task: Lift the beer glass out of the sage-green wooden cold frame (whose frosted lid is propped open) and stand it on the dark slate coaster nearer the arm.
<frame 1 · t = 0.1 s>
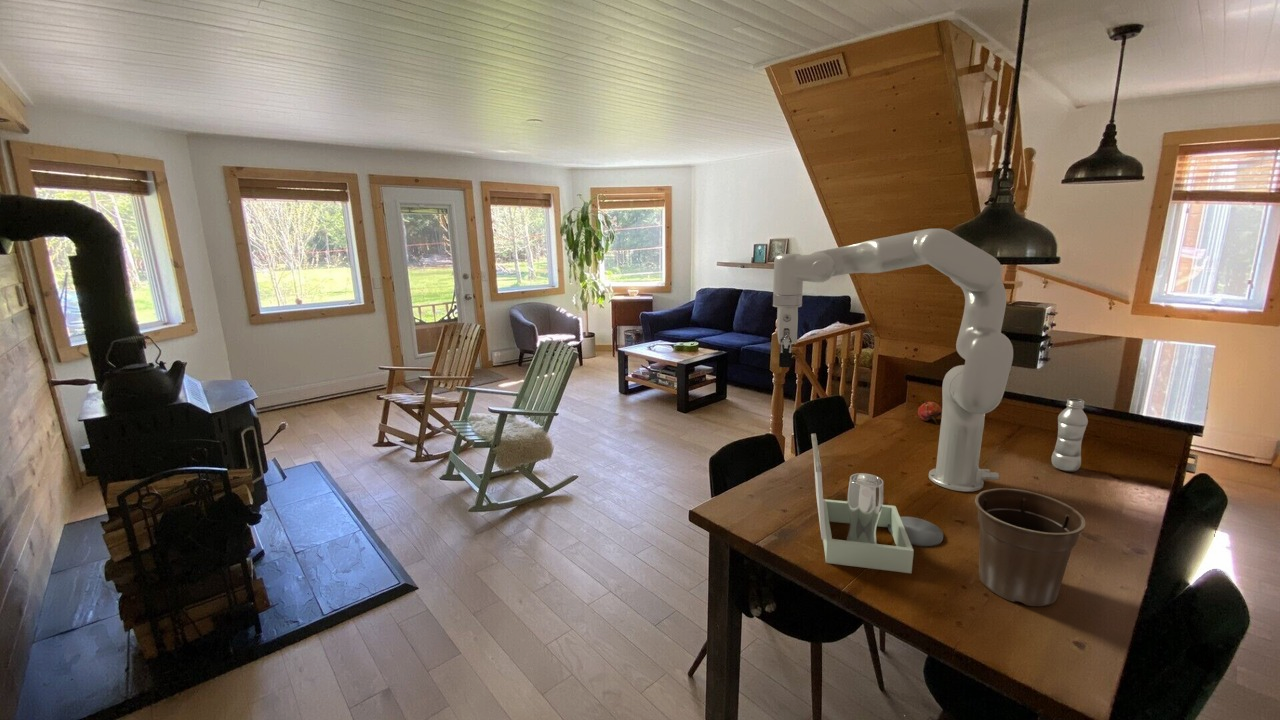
hand: (785, 362, 146), 31 cm above the table, tool pointing down, fingers open, 9 cm apart
pomegranate: (929, 421, 187), on the table
coaster: (914, 532, 119), on the table
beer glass: (861, 544, 115), resting in cold frame
plant pot: (1015, 587, 100), on the table
plastic bottle: (1064, 469, 147), on the table
cold frame: (861, 543, 115), on the table
lid: (818, 483, 115), point 13 cm above the table, hinge at 96.0°
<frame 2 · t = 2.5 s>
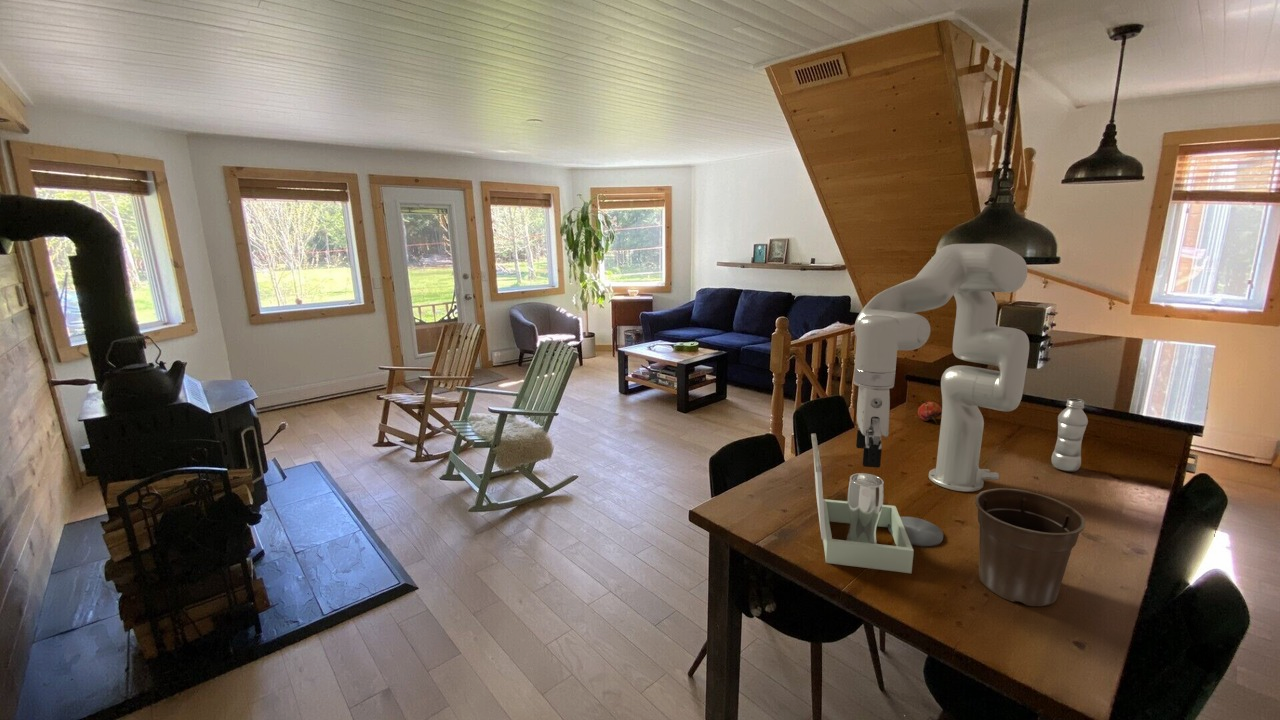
hand: (867, 456, 110), 20 cm above the table, tool pointing down, fingers open, 9 cm apart
nothing on the table moved.
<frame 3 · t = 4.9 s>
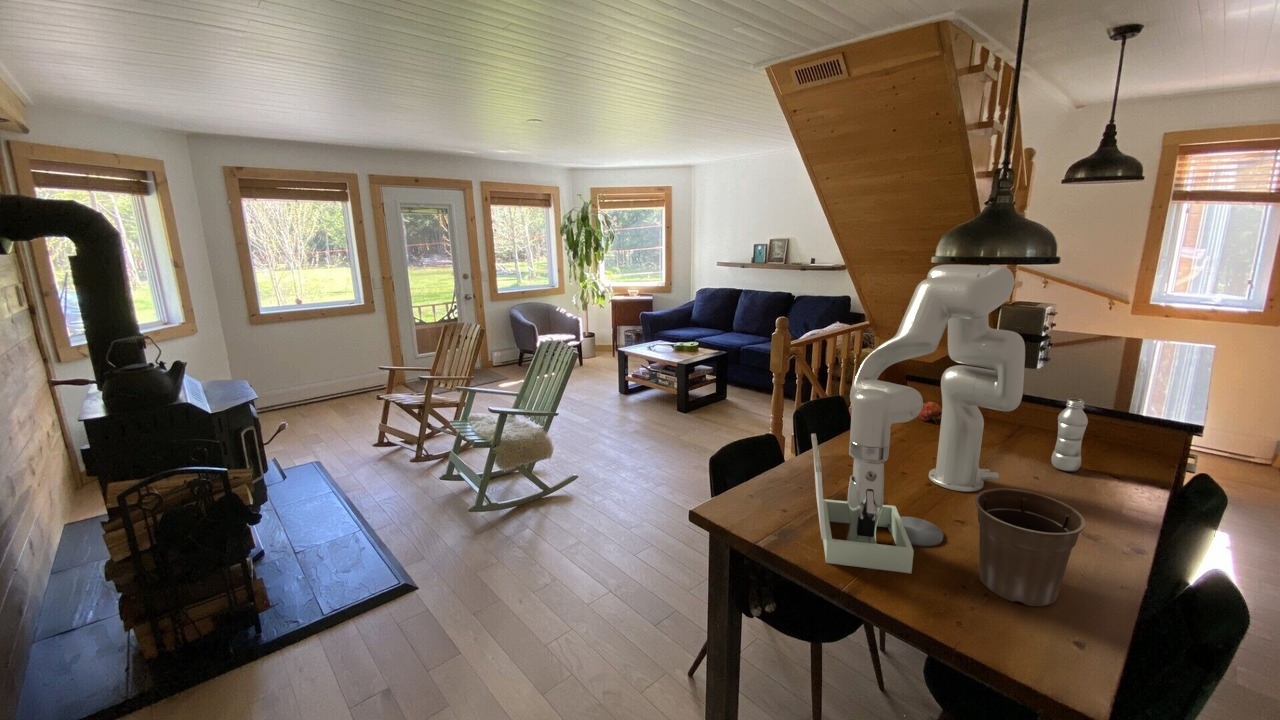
hand: (862, 526, 114), 4 cm above the table, tool pointing down, fingers closed on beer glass, 6 cm apart
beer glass: (861, 544, 115), resting in cold frame, touching gripper
everything else where it was.
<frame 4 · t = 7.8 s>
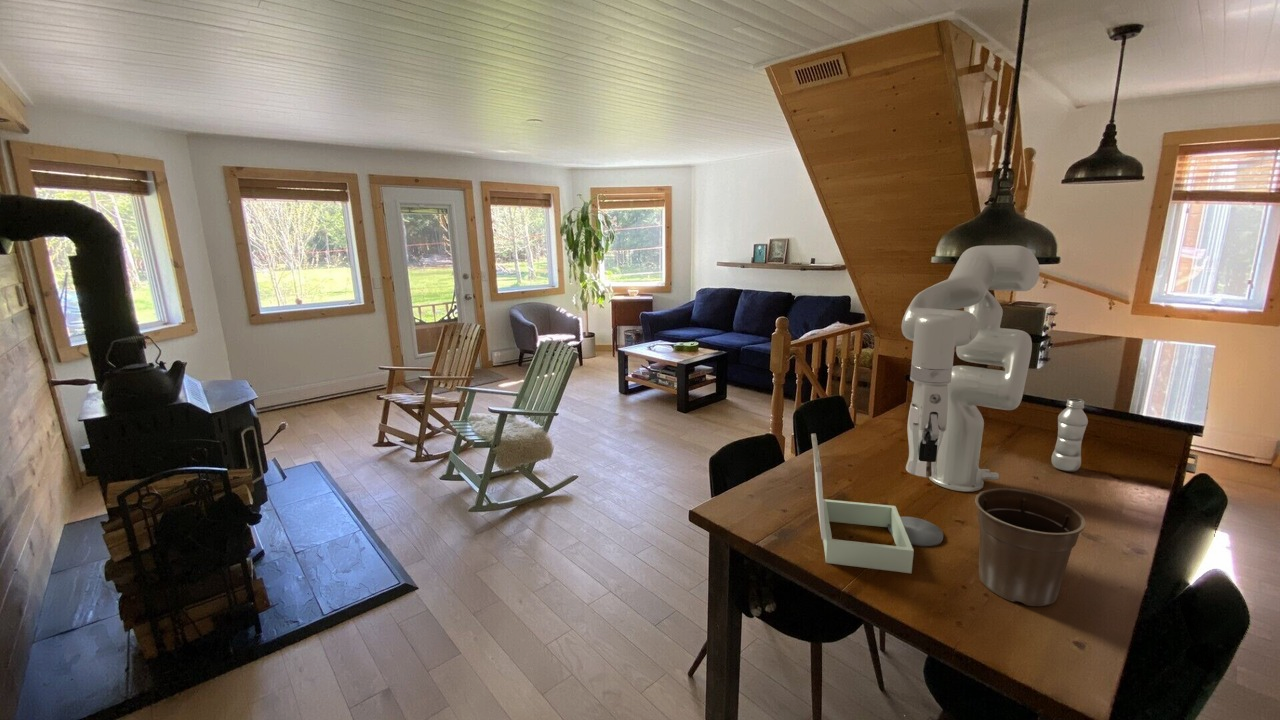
hand: (922, 453, 114), 19 cm above the table, tool pointing down, fingers closed on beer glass, 6 cm apart
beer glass: (920, 472, 115), point 15 cm above the table, touching gripper
everything else where it was.
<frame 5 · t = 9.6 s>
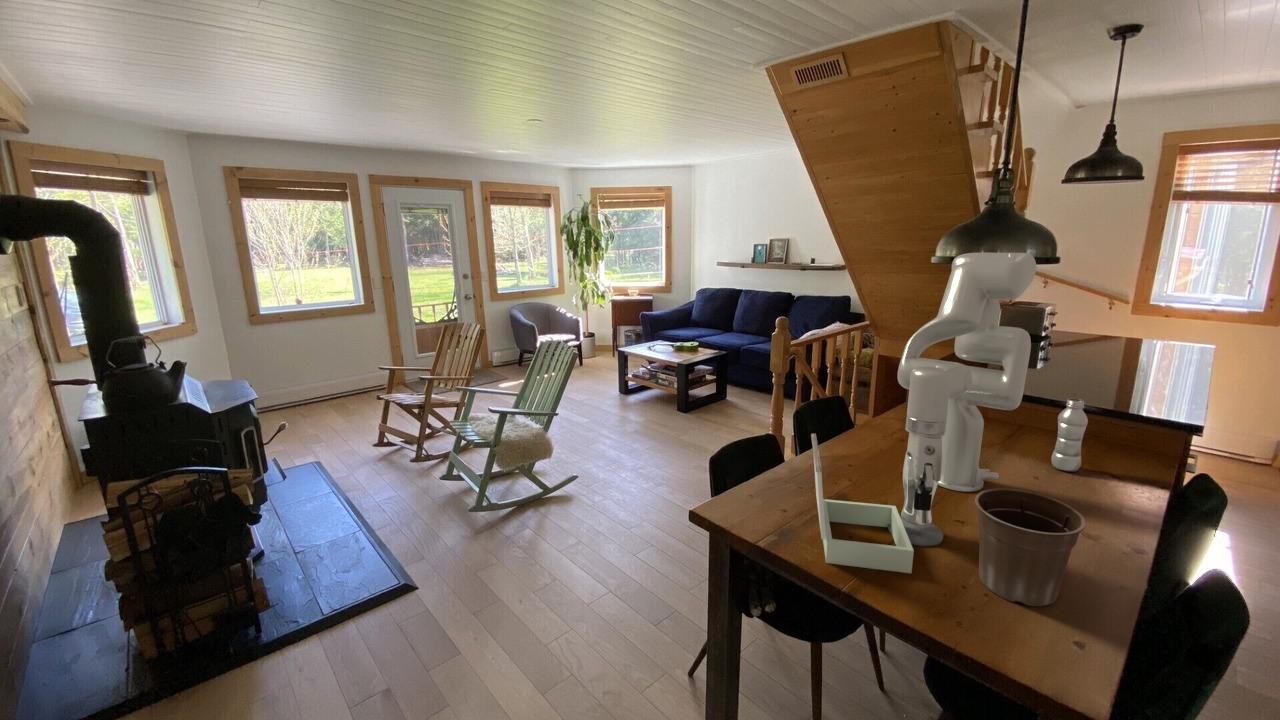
hand: (917, 501, 117), 8 cm above the table, tool pointing down, fingers closed on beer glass, 6 cm apart
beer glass: (916, 518, 118), point 3 cm above the table, touching gripper
everything else where it was.
when the fingers open (6 cm above the table, at t = 11.0 s): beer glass stays where it is, resting on coaster.
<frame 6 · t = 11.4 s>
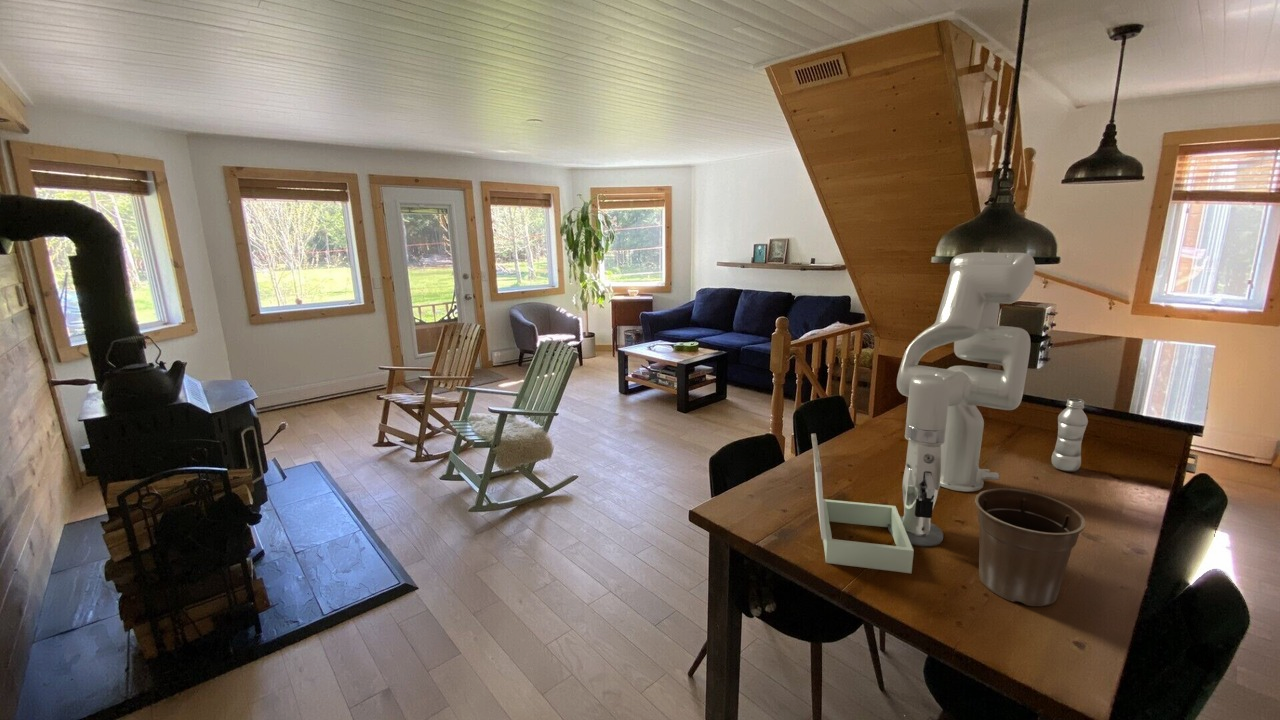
hand: (917, 505, 117), 7 cm above the table, tool pointing down, fingers open, 9 cm apart
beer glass: (915, 530, 118), point 1 cm above the table, touching coaster
everything else where it was.
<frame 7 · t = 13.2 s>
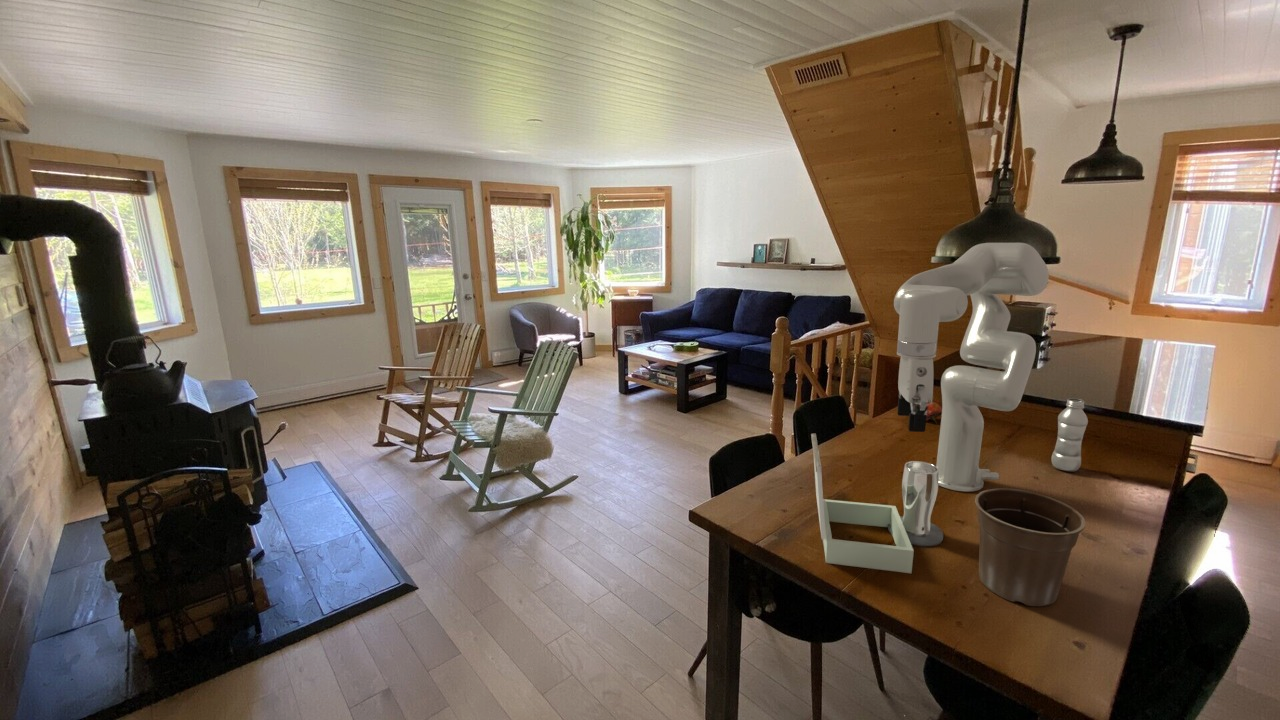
hand: (910, 422, 118), 24 cm above the table, tool pointing down, fingers open, 9 cm apart
nothing on the table moved.
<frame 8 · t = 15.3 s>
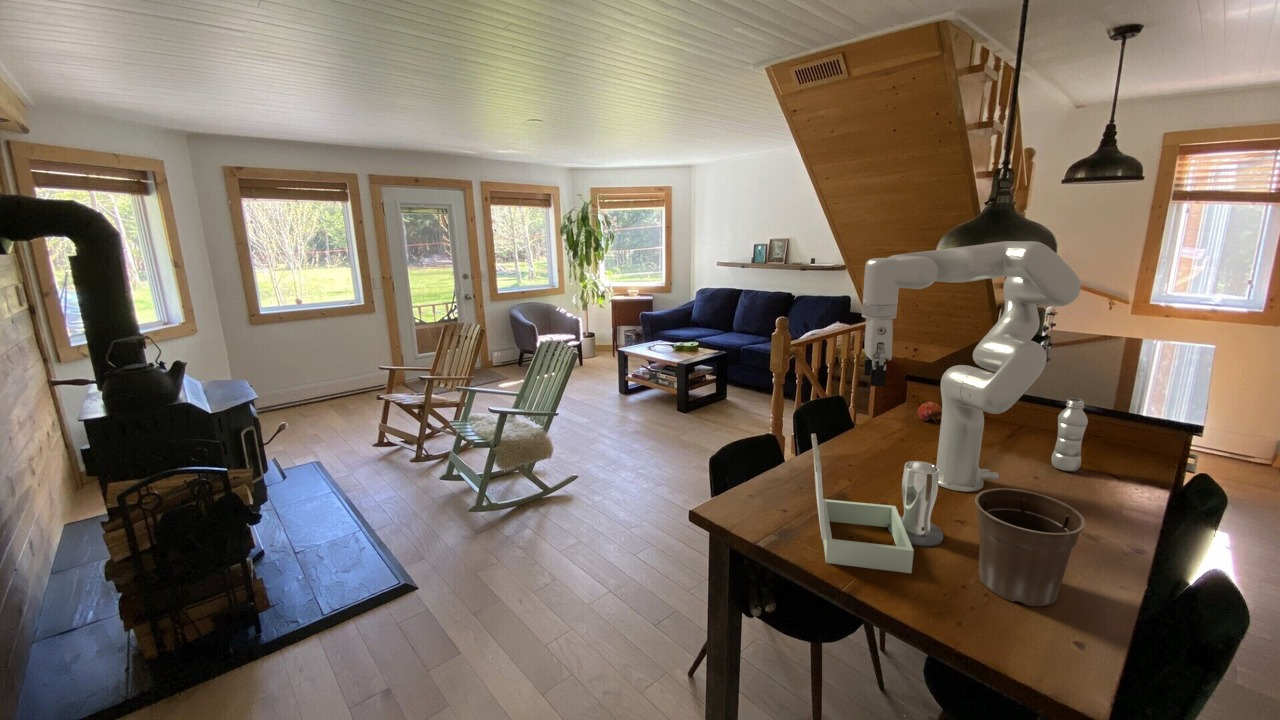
hand: (873, 380, 130), 30 cm above the table, tool pointing down, fingers open, 9 cm apart
nothing on the table moved.
at the end: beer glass 0.1 cm from the coaster (horizontally); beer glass tilted 0°; the gripper is holding nothing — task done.
